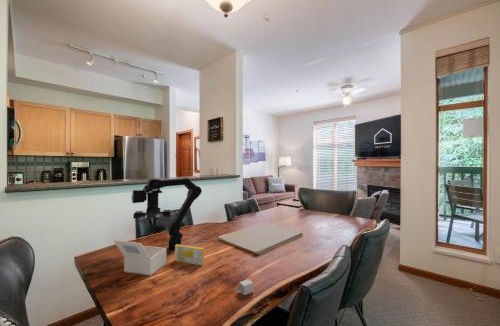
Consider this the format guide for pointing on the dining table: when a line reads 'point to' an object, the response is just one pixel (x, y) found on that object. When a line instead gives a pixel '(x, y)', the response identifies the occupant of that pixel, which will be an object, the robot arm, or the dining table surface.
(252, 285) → the usb wall charger
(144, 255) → the carton flap
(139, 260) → the carton
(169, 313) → the dining table surface
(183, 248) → the candy box
